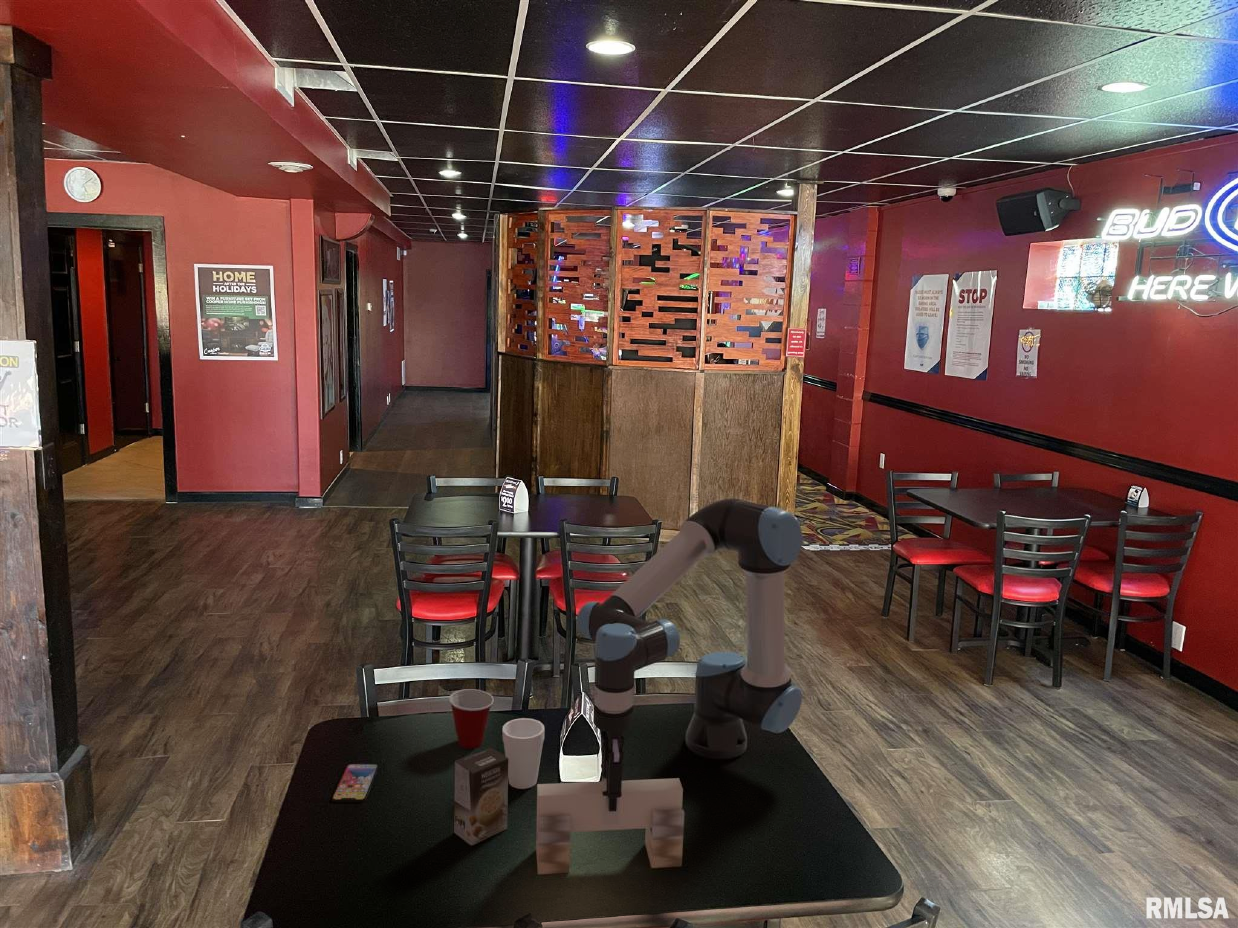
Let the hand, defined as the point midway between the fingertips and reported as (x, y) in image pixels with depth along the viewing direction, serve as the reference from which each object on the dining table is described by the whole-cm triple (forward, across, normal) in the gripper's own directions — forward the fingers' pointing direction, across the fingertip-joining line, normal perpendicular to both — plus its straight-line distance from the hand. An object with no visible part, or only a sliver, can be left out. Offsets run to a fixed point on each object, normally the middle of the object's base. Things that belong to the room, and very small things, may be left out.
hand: (609, 815), depth 174 cm
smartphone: (+10, -31, -53) cm, 62 cm away
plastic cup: (+9, -47, -28) cm, 56 cm away
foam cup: (+9, -29, -16) cm, 34 cm away
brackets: (+9, 0, 0) cm, 9 cm away
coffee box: (+9, -11, -25) cm, 29 cm away
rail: (+2, 0, 0) cm, 2 cm away
